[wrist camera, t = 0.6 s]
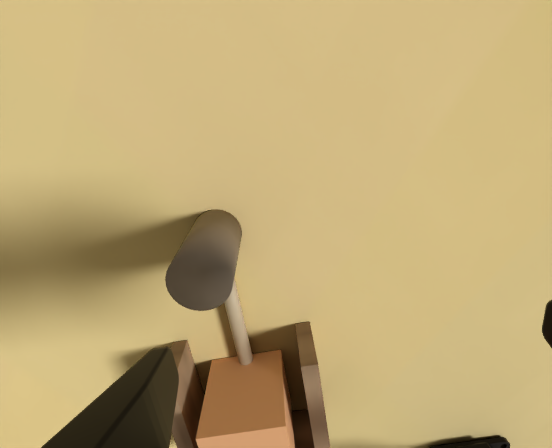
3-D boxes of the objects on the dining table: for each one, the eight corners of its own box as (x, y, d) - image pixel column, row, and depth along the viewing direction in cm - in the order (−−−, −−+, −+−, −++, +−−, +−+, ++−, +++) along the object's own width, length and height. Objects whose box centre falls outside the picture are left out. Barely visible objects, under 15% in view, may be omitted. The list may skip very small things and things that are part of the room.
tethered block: (291, 401, 26) (298, 486, 20) (226, 411, 26) (215, 498, 20) (252, 203, 20) (247, 243, 15) (171, 216, 20) (134, 261, 15)
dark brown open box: (323, 416, 26) (333, 469, 23) (203, 434, 27) (192, 489, 23) (309, 321, 23) (317, 364, 20) (172, 342, 24) (155, 388, 20)
